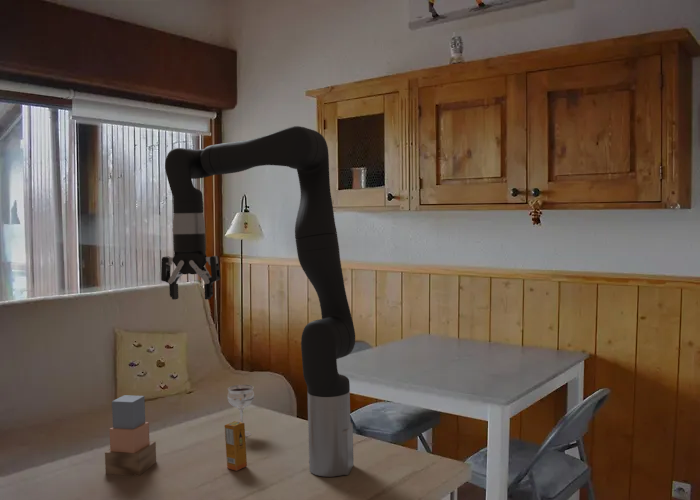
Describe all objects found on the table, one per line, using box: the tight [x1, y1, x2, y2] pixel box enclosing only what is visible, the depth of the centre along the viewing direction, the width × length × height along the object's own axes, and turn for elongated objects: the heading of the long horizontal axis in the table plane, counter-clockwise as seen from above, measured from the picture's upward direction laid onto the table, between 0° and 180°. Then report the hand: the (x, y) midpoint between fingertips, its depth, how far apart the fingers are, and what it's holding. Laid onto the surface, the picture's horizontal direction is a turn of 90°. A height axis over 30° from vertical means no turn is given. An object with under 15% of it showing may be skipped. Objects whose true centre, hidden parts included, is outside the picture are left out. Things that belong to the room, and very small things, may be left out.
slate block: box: [111, 394, 146, 429], centre depth 147 cm, size 5×5×6 cm
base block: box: [104, 440, 157, 476], centre depth 147 cm, size 8×8×5 cm
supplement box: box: [224, 421, 248, 472], centre depth 146 cm, size 3×4×10 cm
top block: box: [108, 421, 151, 453], centre depth 147 cm, size 6×6×5 cm
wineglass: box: [227, 384, 255, 438], centre depth 169 cm, size 7×7×12 cm
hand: (191, 299), depth 159 cm, fingers open, 8 cm apart
